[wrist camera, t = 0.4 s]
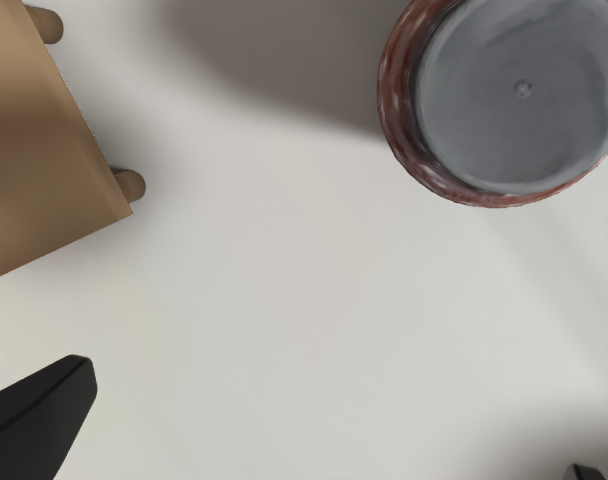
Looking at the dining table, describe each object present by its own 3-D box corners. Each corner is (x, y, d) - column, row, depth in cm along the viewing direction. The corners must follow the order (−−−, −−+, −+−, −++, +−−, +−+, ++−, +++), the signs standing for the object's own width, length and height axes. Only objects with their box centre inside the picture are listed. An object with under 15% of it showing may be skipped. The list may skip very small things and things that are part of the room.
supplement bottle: (360, 80, 21) (297, 82, 11) (483, -40, 19) (555, -186, 9) (460, 191, 22) (494, 298, 11) (591, 84, 20) (785, 91, 9)
